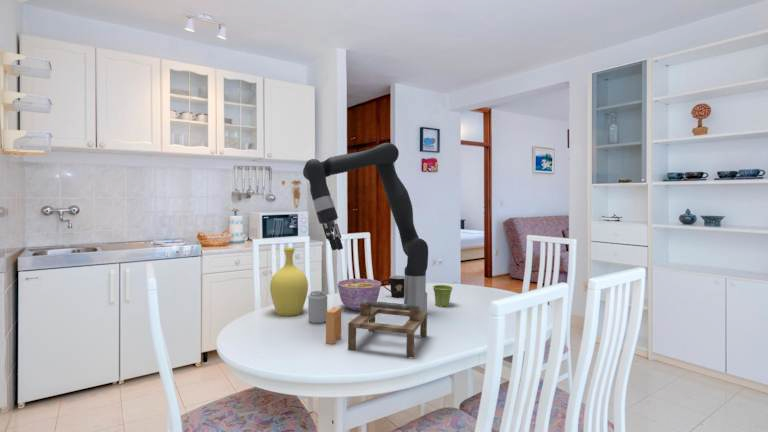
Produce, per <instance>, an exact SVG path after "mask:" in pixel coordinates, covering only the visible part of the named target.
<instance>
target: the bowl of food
mask: <svg viewBox="0 0 768 432" xmlns="http://www.w3.org/2000/svg"><path fill="white" fill-rule="evenodd" d="M336 284H337V289H338V294H339V298H340V301H341V303H342V305H344V306H346V307H347V308H349V309H350V310H352V311H358V312H360V304H361V303H362V301H363V300H366V301H376V302H378V298H379V295H380V290H381V286H382V282H381V281H379V280H376V279H370V278H348V279H343V280H339V281H337V283H336Z"/></svg>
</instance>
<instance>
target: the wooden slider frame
mask: <svg viewBox="0 0 768 432" xmlns="http://www.w3.org/2000/svg"><path fill="white" fill-rule="evenodd" d="M378 314H379V315H381V314H383V315H391V316H401V317H403V316H404V317H409V318H408V319H407V321H406V322H405V324H403V325H399V324H398V325H397V324H388V323H382V322H381V323H379V322H376V315H378ZM347 326H348V327H347V330H348V331H347V345H348V346H347V350H349V351H355V349H356V348H357V329H362V330H367V331H368V332H373V333H374V332H375V331H379V332H386V333H387V332H388V333H396V334H405V335H406V358H409V357H413V358H414V357H415V332H416V331H417V330H418V328H419V330H420V331H419V335H420V336H421V337H420V336H419V337H420V338H423V337H427V336H428V311H427V312H424V311H420V307H419V306H418V305H409V304H404V303H396V302H387V301H377V302H376V301H366V300H363V301H362V303H361V304H360V311H359V314H358V315H357V316H355V317H354V318H352V319H350V321H349V322H347Z"/></svg>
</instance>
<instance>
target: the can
mask: <svg viewBox="0 0 768 432" xmlns="http://www.w3.org/2000/svg"><path fill="white" fill-rule="evenodd" d="M326 293H327V292H326V291H324V290H315V291H311V292H309V295H307V296H308V299H307V301H308V302H307V303H308V310H307V311H308V315H307V317H308V319H307V320H308V321H309V322H310V323H311V324H316V325H317V324H324V323H326V312H327V311H328V295H327V294H326Z"/></svg>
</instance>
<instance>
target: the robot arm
mask: <svg viewBox="0 0 768 432" xmlns="http://www.w3.org/2000/svg"><path fill="white" fill-rule="evenodd" d="M399 153H400V152H399V149H398V147H397V145H395V144H394V143H391V142H384V143H381V144H378V145H376V146H375V147H373V148H370V149H367V150H362V151H355V152H351V153H350V152H349V153H346V154H339V155H334V156H330V157H328V158H326V159H325V160H324V161H320V160H318V158H317V159H315V158H310V159H309V160H307V161H306V162H305V165H304V167H303V170H302V174H303V178H305V179H306V180H308V182H309V187H310V188H309V190H310V191H309V192H310V196H311V200H312V201H313V207H314V211H315V214H316V216H317V217H316V218H317V220H318V223H319V224H320V225H321V226H322V229H323V231H324V235H325V239H326V240H327V241H328V243H329V245H330V249H331V250H332V251H335V250H338V251H341V250H343V249H344V246H343V243H342V234H341V231H340V229H339V226H338V225H339V224H337V223H335V221H336V220H338V218H339V216H338V213H337V212H338V211H337V210H336V206H335V203H334V201H333V200H334V199H333V198H332V196H331V192H330V190H329V187H328V185H327V177H330V176H333V175H338V174H343V173H347V172H350V171H351V172H352V171H354V170H357V169H361V168H364V167H369V166H375V167H376V170H377V172H378V174H379V177H380V179H381V182H382V186H383V188H384V192H385V195H386V198H387V201H388V202H387V203H388V204H389V205H388V206H389V208H390V212H391V213H392V216H393V219H394V222H395V225H396V226H397V230H398V233H399V237H400V242H401V246H402V249H403V252H404V254H405V255H406V257H407V259H406V262H407V263H406V266H405V267H404V274H403V276H404V297H403V304H409V305H418V306H419V307H420V311H424V312H427V313H428V292H427V291H426V287H427V285H426V283H427V281H426V278H427V277H426V276H427V270H428V266H429V265H428V264H429V262H428V261H429V246H428V243H427V242H426V241H425V240H424V239H422V238H419V235H418V232H417V230H416V228H415V223H414V210H413V203H412V200H411V198H410V195H409V192H408V190H407V188H406V187H405V185H404V183H403V182H402V181H401V179H400V177H399V175H398V173H397V171H396V167H395V165H394V163H395V162H396V161H397V160H398V158H399Z"/></svg>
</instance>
